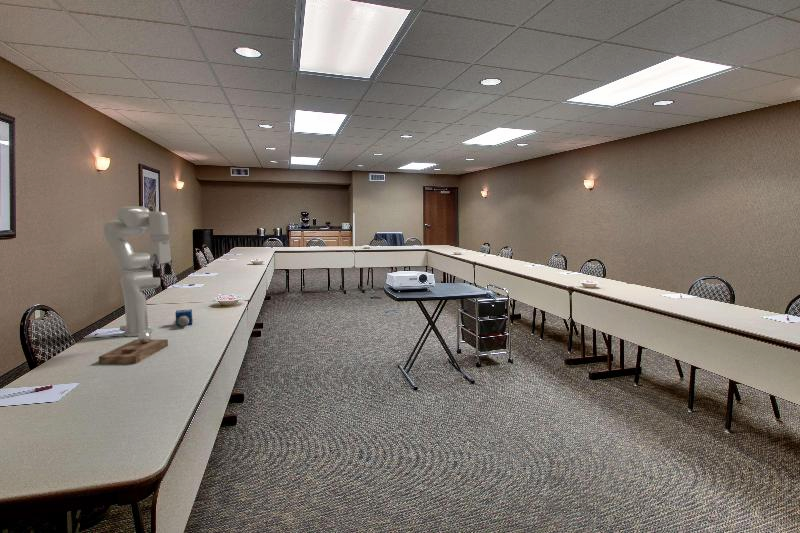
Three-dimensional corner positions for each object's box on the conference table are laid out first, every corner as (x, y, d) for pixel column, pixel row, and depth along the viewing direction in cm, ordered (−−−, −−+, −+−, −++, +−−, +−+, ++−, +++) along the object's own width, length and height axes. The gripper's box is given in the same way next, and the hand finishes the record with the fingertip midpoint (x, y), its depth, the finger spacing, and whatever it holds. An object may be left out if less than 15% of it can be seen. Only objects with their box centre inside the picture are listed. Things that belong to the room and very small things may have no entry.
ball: (135, 344, 189) (135, 333, 188) (142, 341, 194) (141, 330, 193) (147, 344, 189) (146, 333, 188) (153, 341, 194) (152, 330, 193)
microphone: (192, 305, 250) (190, 314, 227) (193, 318, 251) (191, 328, 228) (178, 306, 247) (174, 315, 224) (178, 319, 248) (175, 329, 225)
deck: (99, 363, 173) (98, 356, 172) (135, 346, 197) (135, 339, 196) (136, 363, 173) (135, 356, 172) (168, 345, 197) (167, 339, 196)
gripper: (161, 238, 202) (164, 273, 204) (140, 239, 185) (143, 278, 187) (177, 237, 202) (180, 273, 204) (157, 239, 185) (160, 278, 187)
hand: (162, 276), depth 196 cm, fingers open, 9 cm apart
